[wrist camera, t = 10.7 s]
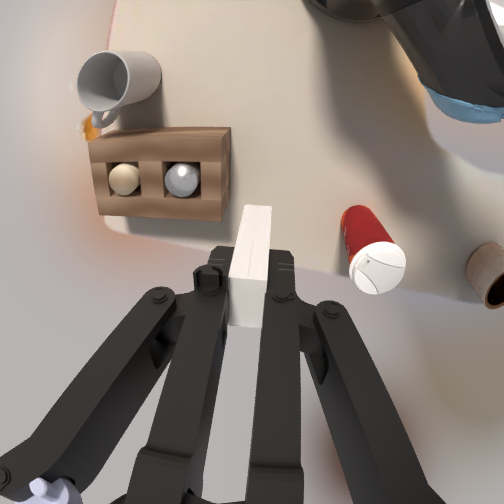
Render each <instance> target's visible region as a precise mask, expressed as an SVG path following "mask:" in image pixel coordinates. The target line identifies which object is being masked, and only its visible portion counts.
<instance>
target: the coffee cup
mask: <svg viewBox="0 0 504 504" xmlns="http://www.w3.org/2000/svg"><path fill="white" fill-rule="evenodd" d="M341 226H342V231H343V236H344V240H345V245H346V249H347V254H348V259H349V263H350V268H349V275H350V279H351V281H352V282H353V284H354V285H355V286H357V287H358V288H359V289H360V290H361V291H363V292H365V293H368V294H381V293H384V292H387V291H389V290H391V289H393V288H394V287H395V286H396V285H397V284H398V283H399V282H400V281H401V279H402V277H403V275H404V271H405V265H406V258H405V255H404V253H403V251H402V250H401V248H399V247H398V246H397V245H395V243H394V242H393V240H392V239H391V237H390V236H389V234H388V233H387V231H386V230H385V229H384V227H383V226H382V224H381V223H380V222H379V220H378V219H377V217H376V216H375V215H374V214H373V212H372V211H371V210H370V209H369V208H367V207H366V206H363V205H356V206H352V207H350V208H349V209H347V210H346V211H345V212H344V214H343V216H342V219H341Z"/></svg>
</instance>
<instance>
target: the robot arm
mask: <svg viewBox="0 0 504 504" xmlns="http://www.w3.org/2000/svg"><path fill="white" fill-rule="evenodd" d="M308 1H309V2H310V3H311V4H312V5H313V6H315V7H316V8H317V9H318V10H320V11H321V12H323V13H325V14H327V15H328V16H331V17H333V18H335V19H338V20H342V21H346V22H352V23H365V22H371V21H374V20H377V19H379V18H382V19H383V20H384V21H385V23H386V24H387V26H388V27H389V28H390V30H391V31H392V33H393V34H394V36H395V37H396V39H397V40H398V42H399V43H400V45H401V46H402V48H403V50H404V51H405V53H406V54H407V56H408V58H409V59H410V61H411V63H412V64H413V66H414V68H415V70H416V71H417V73H418V78H419V81H420V82H421V84H422V85H423V86H424V87H425V88H426V89H427V91H428V93H429V95H430V96H431V98H432V100H433V102H434V104H435V105H436V106H437V107H438V108H439V109H440V110H441V111H442V112H443V113H444V114H445V115H447V116H449V117H451V118H453V119H456V120H459V121H463V122H468V123H476V124H490V123H497V122H501V119H504V0H308ZM271 209H272V207H271V206H258V205H245V207H244V211H243V215H242V219H241V224H240V228H239V232H238V236H237V240H236V245H235V247H227V246H217V247H216V248H214V249H213V250H212V251H211V254H210V257H209V260H208V264H207V265H203V266H200V267H198V268H197V269H196V270H195V271H194V272H193V278H194V291H191V292H189V293H184V294H177V295H175V293H174V292H173V291H172V290H171V289H170V288H168V287H155V288H152V289H150V290H149V291H147V292H146V293H145V294H144V295H143V297H142V298H141V299H140V300H139V301H138V302H137V304H136V305H135V306H134V307H133V308H132V309H131V311H130V312H129V313H128V314H127V315H126V316H125V317H124V319H123V320H122V321H121V322H120V323H119V325H118V326H117V327H116V328H115V330H114V331H113V332H112V333H111V334H110V335H109V336H108V338H107V339H106V340H105V341H104V343H103V344H102V345H101V346H100V347H99V349H98V350H97V351H96V352H95V354H94V355H93V356H92V357H91V358H90V360H89V361H88V362H87V363H86V365H85V366H84V367H83V368H82V370H81V371H80V372H79V373H78V375H77V376H76V377H75V378H74V380H73V381H72V382H71V383H70V385H69V386H68V387H67V389H66V390H65V391H64V392H63V394H62V395H61V396H60V398H59V399H58V400H57V402H56V403H55V404H54V406H53V407H52V408H51V410H50V411H49V412H48V414H47V415H46V416H45V418H44V419H43V420H42V422H41V423H40V424H39V426H38V427H37V429H36V430H35V431H34V433H33V434H32V435H31V437H30V438H28V439H27V440H25V441H24V442H23V443H21V444H19V445H18V446H16V447H15V448H13V449H12V450H10V451H9V452H7V453H6V454H4V455H3V456H1V457H0V495H1V496H3V497H6V498H8V499H10V500H12V501H14V503H15V504H83V502H82V498H81V495H80V494H81V493H82V492H83V491H84V490H85V489H86V488H87V487H88V486H89V485H90V484H91V483H92V482H93V481H94V479H95V478H96V476H97V475H98V474H99V472H100V471H101V469H102V468H103V466H104V464H105V463H106V461H107V460H108V458H109V456H110V455H111V453H112V451H113V450H114V448H115V447H116V445H117V444H118V442H119V440H120V438H121V437H122V436H123V434H124V432H125V431H126V429H127V428H128V426H129V424H130V423H131V421H132V420H133V418H134V417H135V415H136V414H137V412H138V410H139V409H140V407H141V406H142V404H143V403H144V401H145V399H146V398H147V396H148V394H149V393H150V392H151V390H152V388H153V387H154V385H155V384H156V382H157V381H158V379H159V377H160V376H161V374H162V373H163V371H164V370H165V368H166V366H167V365H168V363H169V362H170V360H171V359H172V360H171V363H170V366H169V369H168V373H167V376H166V379H165V383H164V386H163V389H162V393H161V396H160V399H159V403H158V406H157V410H156V413H155V417H154V421H153V424H152V427H151V431H150V435H149V438H148V442H147V444H146V446H145V447H143V448H141V449H140V451H139V452H138V455H137V457H136V460H135V464H134V467H133V471H132V475H131V479H130V483H129V487H128V491H127V494H124V495H122V496H121V497H119V498H117V499H116V500H114V501H113V502H112V503H110V504H216V503H212V502H209V501H207V500H204V499H202V498H201V496H202V488H203V471H204V466H205V459H206V453H207V448H208V442H209V436H210V430H211V424H212V418H213V413H214V407H215V401H216V395H217V390H218V384H219V378H220V373H221V367H222V361H223V356H224V349H225V344H226V339H227V325H230V326H240V327H251V328H262V331H261V341H260V353H259V363H258V375H257V387H256V397H255V407H254V418H253V428H252V439H251V449H250V459H249V469H248V477H247V486H246V495H245V501H239V502H231V503H222V504H303V501H304V500H303V499H304V472H303V468H302V466H301V458H300V457H301V386H300V385H301V383H300V351H301V352H304V355H305V358H306V361H307V364H308V367H309V370H310V373H311V376H312V379H313V381H314V384H315V387H316V390H317V393H318V396H319V399H320V402H321V405H322V408H323V411H324V414H325V417H326V420H327V423H328V426H329V429H330V432H331V435H332V439H333V442H334V445H335V448H336V451H337V454H338V457H339V460H340V463H341V466H342V469H343V472H344V475H345V479H346V481H347V485H348V488H349V491H350V494H351V497H352V501H353V504H446V503H445V502H444V501H443V500H442V499H441V498H440V497H439V496H438V494H437V493H436V492H435V491H434V490H433V489H432V488H431V487H430V486H429V485H428V483H427V480H426V478H425V476H424V473H423V471H422V468H421V466H420V463H419V461H418V458H417V456H416V454H415V451H414V449H413V447H412V444H411V442H410V440H409V437H408V435H407V433H406V431H405V428H404V426H403V424H402V422H401V419H400V417H399V415H398V413H397V411H396V408H395V406H394V404H393V402H392V400H391V398H390V395H389V393H388V391H387V389H386V387H385V385H384V383H383V381H382V379H381V377H380V375H379V373H378V370H377V368H376V366H375V364H374V362H373V360H372V358H371V356H370V354H369V352H368V350H367V348H366V346H365V344H364V342H363V341H362V338H361V336H360V334H359V333H358V331H357V329H356V327H355V325H354V323H353V321H352V319H351V317H350V315H349V313H348V312H347V310H346V309H345V307H344V306H343V305H341V304H339V303H338V302H335V301H323V302H320V303H319V304H317V306H314V305H311V304H308V303H306V302H304V301H302V300H301V299H300V298H299V297H298V296H297V294H296V291H295V274H294V257H293V256H292V254H291V253H290V251H285V250H273V249H269V244H270V227H271Z"/></svg>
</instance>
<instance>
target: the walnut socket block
mask: <svg viewBox="0 0 504 504" xmlns="http://www.w3.org/2000/svg"><path fill="white" fill-rule="evenodd" d="M230 129H231V127H160V128H139V129H124V130H113V131H110V132H108V133H106V134H104V135H102V136H100V137H98V138H96V139H94V140H92V141H90V142H88V148H89V156H90V163H91V170H92V177H93V183H94V189H95V195H96V200H97V205H98V211H99V215H109V216H132V217H152V218H171V219H188V220H204V221H219V222H221V221H222V218H223V215H224V212H225V210H226V207H227V204H228V201H229V185H230ZM178 161H187V162H201V181H200V182H199V184H198V185H197V187H196V189H195V190H194V192H193V193H192V194H190V195H189V196H186V197H178V196H175V195H173V194H172V193H170V192H169V190H168V189H167V187H166V185H165V176H166V173H167V172H168V171H169V170H170V169H171V168H172V167H173V166H174V165H175V164H176V163H177V162H178ZM122 162H138V164H139V174H140V183H141V184H140V185H139V186H138V187H137V188H136V189H135V190H134V191H133V192H132V193H130V194H128V195H120V194H117V193H116V192H115V191H114V190H113V189H112V188H111V186H110V184H109V174H110V172H111V171H112V170H113V169H114V168H115V167H116V166H118V165H119V164H121V163H122Z"/></svg>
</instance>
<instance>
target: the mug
mask: <svg viewBox="0 0 504 504" xmlns="http://www.w3.org/2000/svg"><path fill="white" fill-rule="evenodd" d="M160 80H161V68H160V65H159V63H158V61H157V60H156V59H155V58H154V57H153V56H152V55H151V54H149V53H146V52H142V51H118V50H105V51H100V52H97V53H95V54H93V55H92V56H90V57H89V58H88V59H87V60H86V61H85V62H84V63H83V65H82V66H81V68H80V70H79V73H78V76H77V81H76V82H77V83H76V88H77V93H78V96H79V99H80V100H81V102H82V103H83V105H85V106H86V107H87V108H88V109H90V110H92V111H93V116H92V125H93V127H95V128H99V129H100V128H105V127H107V126H109V125H110V124H112V123H113V122H114V121H115V119H116V118H117V116H118V114H119V112H120V109H121V107H122V106H125V105H129V104H132V103H136V102H140V101H143V100H145V99H147V98H148V97H150V96H151V95H152V94H153V93H154V92H155V91H156V89H157V88H158V86H159V83H160ZM106 111H110V112H109V114H108V116H107V117H106V118H105V119H104V120H102V117H103V114H104V112H106ZM101 120H102V121H101Z"/></svg>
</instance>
